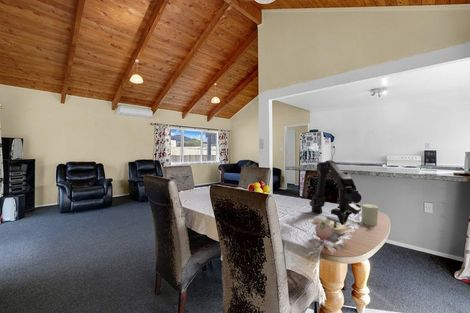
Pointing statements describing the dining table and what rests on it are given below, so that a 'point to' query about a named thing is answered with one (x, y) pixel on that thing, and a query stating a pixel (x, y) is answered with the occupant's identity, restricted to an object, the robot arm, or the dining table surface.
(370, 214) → the can
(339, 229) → the board
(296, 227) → the mat
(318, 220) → the cover
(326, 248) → the dining table surface
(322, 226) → the decorative fruit
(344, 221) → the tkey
